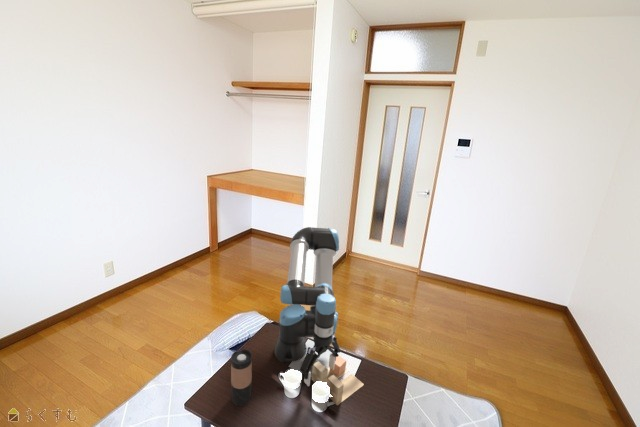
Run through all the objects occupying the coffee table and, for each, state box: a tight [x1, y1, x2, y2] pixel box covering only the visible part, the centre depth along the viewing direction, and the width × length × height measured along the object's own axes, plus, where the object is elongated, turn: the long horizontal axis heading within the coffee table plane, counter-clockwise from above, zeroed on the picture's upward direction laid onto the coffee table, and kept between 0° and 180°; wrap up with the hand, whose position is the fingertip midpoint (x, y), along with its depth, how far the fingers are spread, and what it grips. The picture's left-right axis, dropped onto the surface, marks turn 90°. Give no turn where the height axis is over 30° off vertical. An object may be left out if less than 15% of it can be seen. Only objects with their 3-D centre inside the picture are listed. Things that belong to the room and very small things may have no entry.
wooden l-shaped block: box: [327, 373, 365, 406], centre depth 123 cm, size 7×16×9 cm, turn 132°
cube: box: [330, 355, 347, 376], centre depth 133 cm, size 5×5×5 cm
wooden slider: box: [310, 360, 349, 383], centre depth 130 cm, size 7×16×9 cm, turn 132°
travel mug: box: [230, 349, 253, 407], centre depth 115 cm, size 8×8×20 cm
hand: (319, 375), depth 125 cm, fingers open, 13 cm apart
